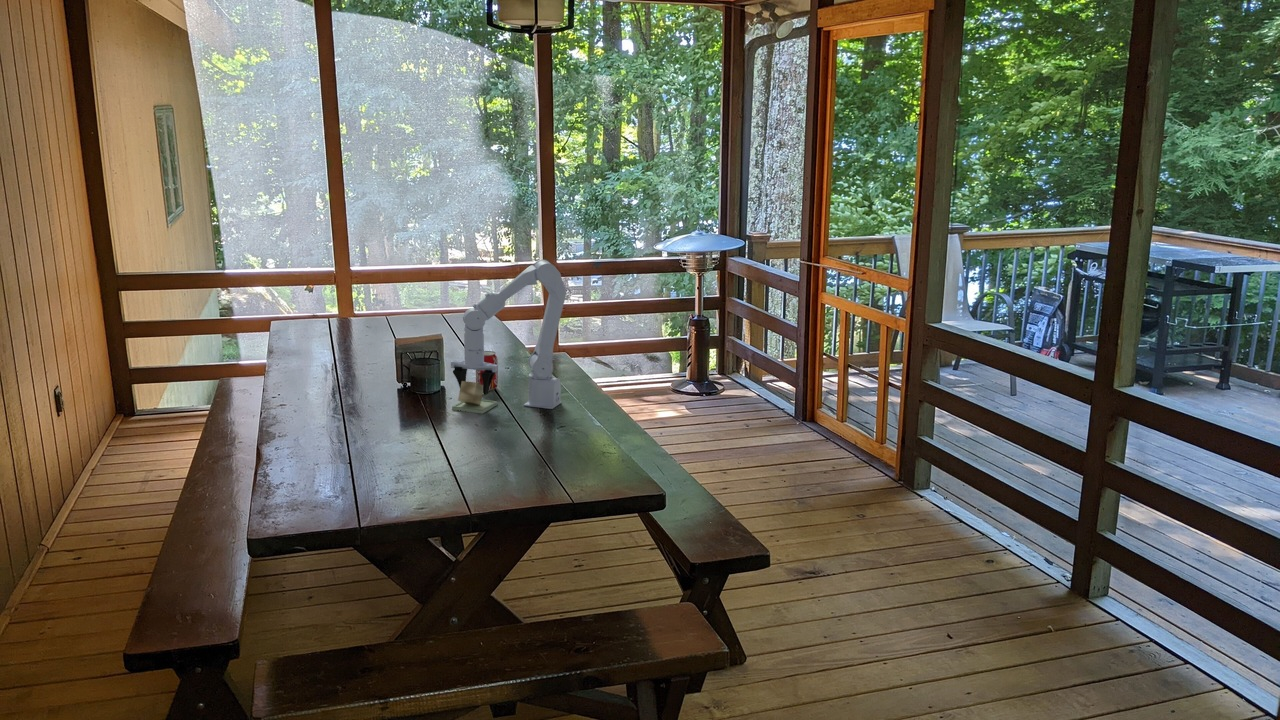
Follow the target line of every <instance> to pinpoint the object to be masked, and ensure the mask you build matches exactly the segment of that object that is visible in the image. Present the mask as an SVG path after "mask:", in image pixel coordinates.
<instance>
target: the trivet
mask: <svg viewBox="0 0 1280 720" xmlns="http://www.w3.org/2000/svg"><path fill="white" fill-rule="evenodd" d="M496 406H498V401H495V400H490V399H489V400H488V399H481V404H480V405H475V404H468V403H464V402H461V401H458V402H457V403H456V404H454V405H452V407H451V411H457V410H459V412H465V411H466V412H467V413H475V414H482V415H483V414H485V413H486V412H488V411H489V410H491V409H493V408H495V407H496ZM460 410H461V411H460Z"/></svg>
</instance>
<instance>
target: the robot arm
mask: <svg viewBox="0 0 1280 720" xmlns="http://www.w3.org/2000/svg"><path fill="white" fill-rule="evenodd" d="M538 282H539V283H540V284H542V285H543V286H544V288H545V290H546V291H547V293H548V297H547V301H546V306H545V309H544V314H543V317H542V318H543V319H542V323H541V327H540V330H539V335H538V339H537V343H536V345H535V346H534V350H533V352H532V354H530V356H529V358H528V366H529V368H530V369H531V370H530V373H529V374H528V400H527V402H525V403H524V404H523V406H524V407H531V408H541V409H548V410H552V409H553V410H554V409H555V408H556V407H557V406H559V405H560V404H562V402H563V401H562V382H561V381H562V380H561V379H560V378H558V377H555V376H553V372H554V364H553V359H554V346H555V341H556V337H557V335H558V334H557V333H558V329H559V324H560V320H561V316H562V312H563V308H564V304H565V300H566V295H567V290H566V287H565V284H564V281H563V278H562V274H561V272H560V271H559V270H558V268H556V266H555V265H554V264H552V263H551V262H550V261H549V260H547V259H539V260H537V261H535V262H534V264H531V265H530V266H528V267H526V269H524V270H523V271H521V273H519V274H518V275H517V276H516V277H515V278H513V279H512V280H511V281H510V282H509V283H508V284H506V285H505V286H504V287H503V288H502V289H501V290H500V291H492V292H490V293H489V292H487V293H486V294H484V295H485V297H483V299H481V300H480V301H479V302H477V304H476V303H474V304H473V305H472V308H468V309H467V310H465V312H464V314H463V316H462V321H463V322H464V324H465V325H464V334H463V337H464V338H463V339H464V341H463V342H464V345H463V346H464V347H463V348H464V349H463V350H464V360H451V361H450V368H451V369H453V371H452V373H453V375H454V377H455V378H456V381H457V384H458V386H459V388H460V387H461V382H462V381H466V380H467V373H468V370H472V371H473V370H474V371H476V370H483V371H485V372H483V373H481V375H482V379H483V394H482V396H483V395H484V396H486V395H488V394H489V387H490V384H491V381H492V379H493V377H494V375H495V373H496V372H497V371H498V372H499V364H498V365H496V364H490V363H486V362H484V351H485V334H484V326H485V324H486V321H489V320H490V319H492V318H493V317H494V316H495V315H497V314H498V313H499V312H500V311H502V310H503V309H504V308H505V307H506V301H507V300H508V299H510V298H511V297H513V296H514V295H515V294H517V293H519V292H520V291H521V290H523V289H524V288H526V287H527V286H535V285H538V284H539V283H538ZM466 382H467V381H466Z"/></svg>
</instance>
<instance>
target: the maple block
mask: <svg viewBox="0 0 1280 720" xmlns="http://www.w3.org/2000/svg"><path fill="white" fill-rule="evenodd" d="M482 398H483V385H481V384H478V383H476V381H475V382H474V381H462V382H461V387H459V393H458V399H457V401H458V402H464V403H468V404H475V405H480V404H481V400H483V399H482Z"/></svg>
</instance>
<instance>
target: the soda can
mask: <svg viewBox="0 0 1280 720" xmlns="http://www.w3.org/2000/svg"><path fill="white" fill-rule="evenodd" d="M484 362H486V363H490V364H496V365H498V366H499V364H498V363H499V362H498V355H496V352H495V351H494V350H492V351H491V350H484ZM483 372H485V371H483V370H475V383H478V384H481V385H483V379H482V375H481V373H483ZM498 384H499V370H498V371H497V372H496V373H495V375H494V377H493V379H492V381H491V384H490V387H489V391H494V390H495V389H497V388H498Z"/></svg>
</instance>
